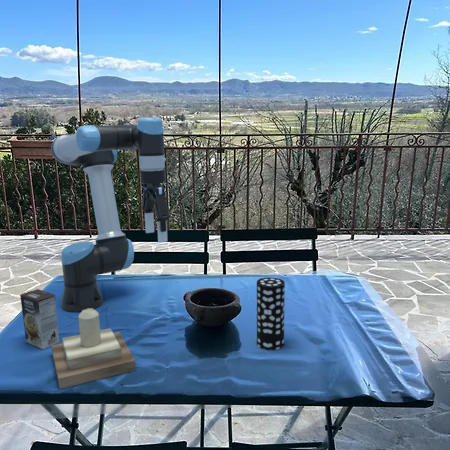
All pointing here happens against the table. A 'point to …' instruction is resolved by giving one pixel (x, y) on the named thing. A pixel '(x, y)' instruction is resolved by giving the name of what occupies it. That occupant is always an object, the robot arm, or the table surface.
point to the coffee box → (40, 318)
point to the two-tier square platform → (91, 359)
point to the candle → (89, 328)
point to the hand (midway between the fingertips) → (156, 237)
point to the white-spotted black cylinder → (270, 313)
